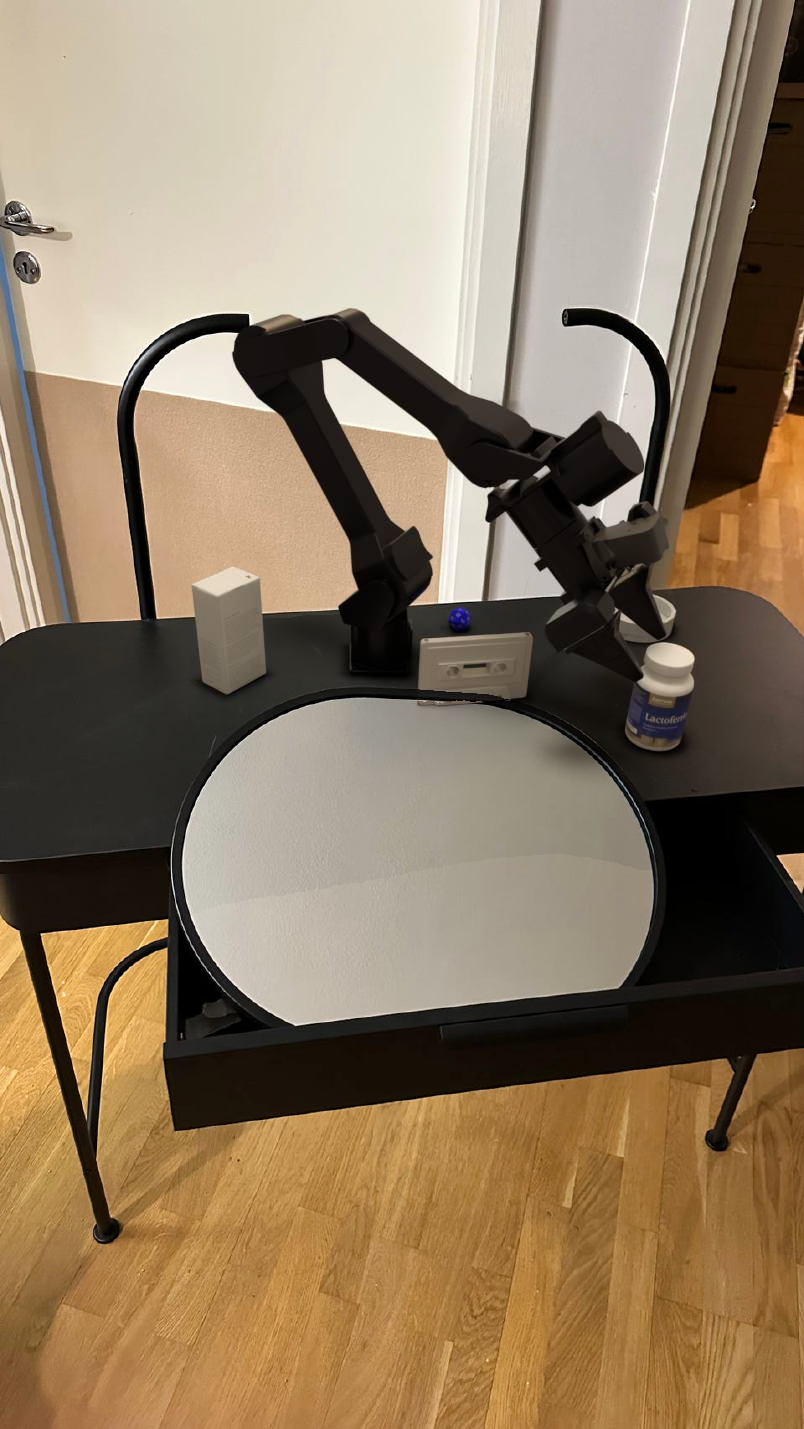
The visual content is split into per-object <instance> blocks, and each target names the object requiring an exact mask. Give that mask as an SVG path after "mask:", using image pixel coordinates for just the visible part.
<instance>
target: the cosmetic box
mask: <svg viewBox="0 0 804 1429" xmlns="http://www.w3.org/2000/svg"><path fill="white" fill-rule="evenodd" d="M191 592H192V603H193V611H194V619H195V620H194V621H195V627H196V639H197V645H198V654H199V662H200V664H199V665H200V672H201V681H202V683H204V685H205V684H206V685H207V686H209V687H210V688H211V687H212V688H213V689H215V690H217V691H219V692H221V693H223V694H224V695H230V694H231V693H233V692H235V691H236V690H238V689H241V688H243V687H244V686H245V685H248V684H250V683H251V682H253V681H255V680H257V679H259V678H260V677H262V676H264V675H266V674H267V665H266V664H267V661H266V648H265V634H264V620H263V619H264V618H263V604H262V603H263V602H262V590H261V578H260V577H259V576H257V575H255V574H253V573H250V572H248V571H246V570H244V569H241V568H239V567H236V566H230V567H228V568H226V569H224V570H222V571H219V572H216V573H215V574H212V575H210V576H208V577H206V578H203V579H201V580H199V581H196V582H194V583H192V584H191Z"/></svg>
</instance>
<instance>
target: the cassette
mask: <svg viewBox="0 0 804 1429" xmlns="http://www.w3.org/2000/svg"><path fill="white" fill-rule="evenodd" d="M533 643H534V638H533V635H532V634H531V632H529V631H528V632H527V631H526V632H525V631H524V632H512V633H510V632H509V633H497V634H496V633H495V634H493V633H492V634H477V635H462V636H448V637H447V636H446V637H432V638H429V637H428V638H422V639H421V640H420V644H419V645H420V646H419V661H418V662H419V664H418V683H417V684H418V685H417V690H418V689H420V690H434V691H446V692H462V693H477V694H489V695H494V696H498V697H501V698H504V699H509V700H508V701H511V699H522V698H523V699H524V698H525V697H526V696H527V694H528V693H527V692H528V683H529V677H530V676H529V675H530V668H531V661H532V660H531V659H532V652H533V651H532V650H533ZM479 664H485V667H469V668H468V667H467V668H464V667H465V666H464V665H479ZM417 702H418V703H419V705H420V706H429V705H435V706H438V705H439V706H449V705H450V706H451V705H464V704H477V703H483V702H482V701H476V702H470V701H465V700H463V701H457V700H456V701H451V702H445V701H443V703H441V702H439V703H437V702H435V701H426V702H423V701H418V700H417Z"/></svg>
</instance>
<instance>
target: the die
mask: <svg viewBox="0 0 804 1429" xmlns="http://www.w3.org/2000/svg"><path fill="white" fill-rule="evenodd" d="M472 618H473V616H472V614H471V613H470V612H469V611H468V610H467V609H466V608H465V607H464V606H461V607H458V608H455V609H452V611H451V612H450V614H449V617H448V619H447V623H448V624H449V625H450V626H451V627H452V629H454V630H455V632H457V631H461V630H465V629H467V628H468V626H469V624H470V623H471V620H472Z"/></svg>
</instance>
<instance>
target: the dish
mask: <svg viewBox="0 0 804 1429" xmlns="http://www.w3.org/2000/svg"><path fill="white" fill-rule="evenodd" d="M653 596H654V599H655V602H656V605H657V607H658V610H659V613H660V616H661V619H662V621H663V624H664V627H665V630H666V633H667V635H666V637H664V638H662V639H661V640H656V639H655V638H654V637H652V636H651V635H649V634H648V633H647V632H645V631H644V630H643V629H642V628H640V627H639V626H638V625H637V624H635V623H634V622H633V621H632V620H630V619H629V618H628V617H627V616H625V615H624V614H623V613H622V612H621V618H620V625H619V631H620V633H621V635H622V636H623V638H624V640H625V641H626V642H633V643H642V644H643V643H644V644H645V643H646V644H647V643H648V644H649V643H658V642H660V641H663V640H665V639H667V638H669V636H670V635H671V634H672V633H673V627H674V624H675V619H676V614H677V610H676V608H675V606H674V605H673V603H671V602H670V601H668V600H667V599H665V597H661V596H658V595H655V594H653ZM615 610H616V611H615V612H614V613H616V612H617V611H619V610H618V609H617V608H615Z"/></svg>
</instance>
